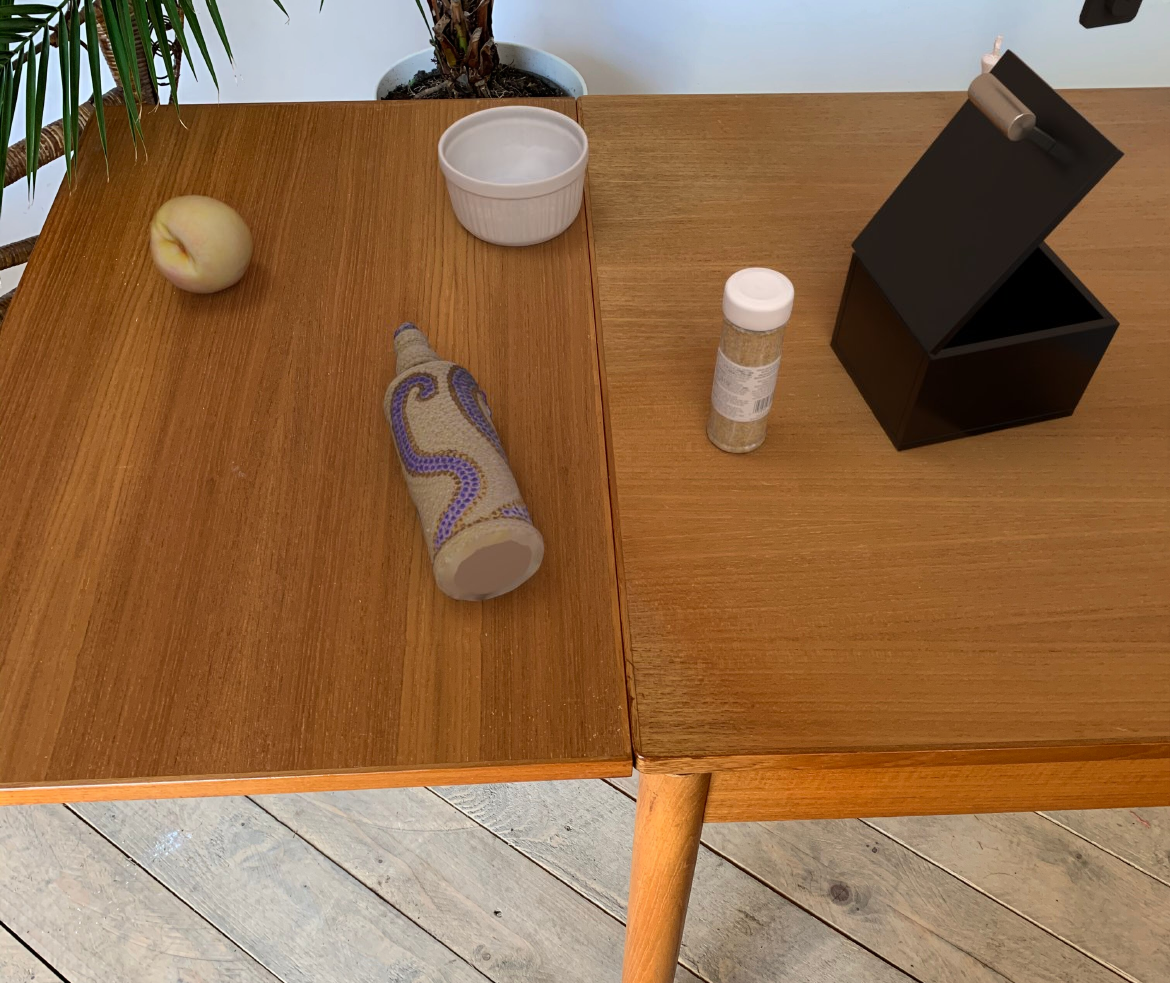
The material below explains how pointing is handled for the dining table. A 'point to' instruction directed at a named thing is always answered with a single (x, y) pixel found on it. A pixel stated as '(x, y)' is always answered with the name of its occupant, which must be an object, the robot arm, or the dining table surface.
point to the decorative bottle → (458, 475)
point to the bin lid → (982, 199)
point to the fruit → (200, 244)
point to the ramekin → (515, 173)
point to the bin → (975, 355)
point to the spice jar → (748, 357)
